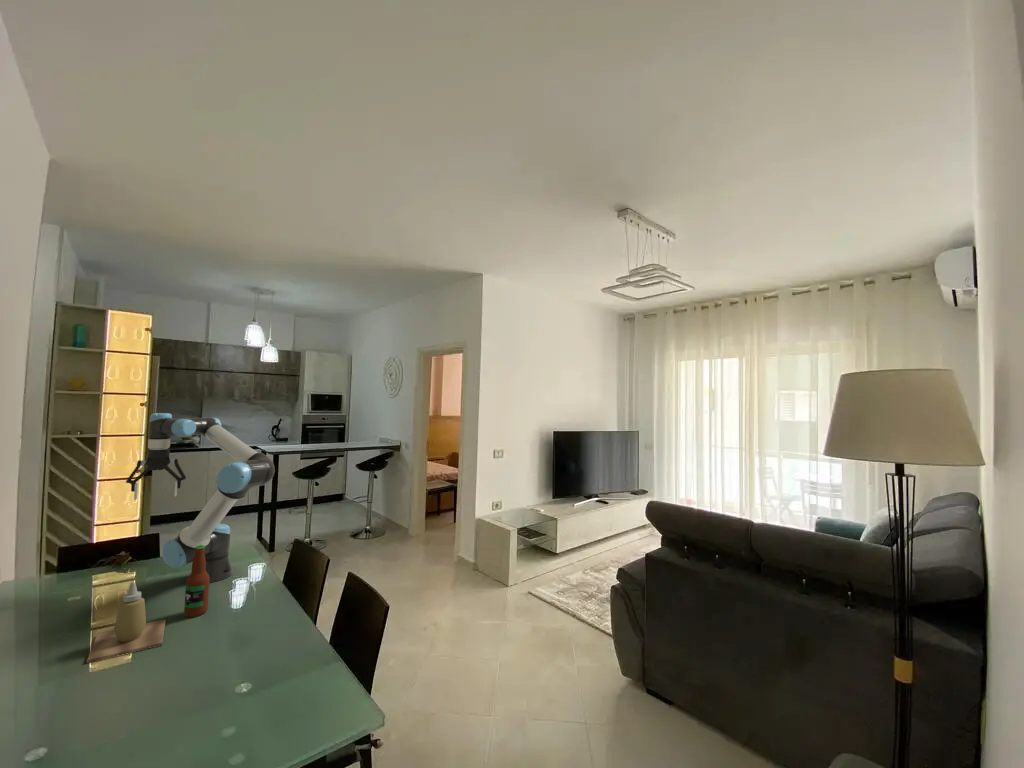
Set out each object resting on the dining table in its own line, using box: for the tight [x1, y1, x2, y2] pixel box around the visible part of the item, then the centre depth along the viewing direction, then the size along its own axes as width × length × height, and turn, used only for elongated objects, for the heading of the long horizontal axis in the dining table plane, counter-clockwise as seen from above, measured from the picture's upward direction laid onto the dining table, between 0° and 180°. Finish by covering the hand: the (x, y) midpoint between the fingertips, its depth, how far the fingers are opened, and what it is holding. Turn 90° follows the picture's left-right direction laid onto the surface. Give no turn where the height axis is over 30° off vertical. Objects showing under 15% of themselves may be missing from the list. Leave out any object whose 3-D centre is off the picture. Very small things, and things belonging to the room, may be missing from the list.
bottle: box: [183, 545, 210, 618], centre depth 165 cm, size 7×7×25 cm
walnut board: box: [86, 619, 166, 664], centre depth 146 cm, size 18×18×1 cm
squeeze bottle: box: [113, 582, 147, 642], centre depth 146 cm, size 8×8×18 cm
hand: (155, 497), depth 190 cm, fingers open, 13 cm apart
